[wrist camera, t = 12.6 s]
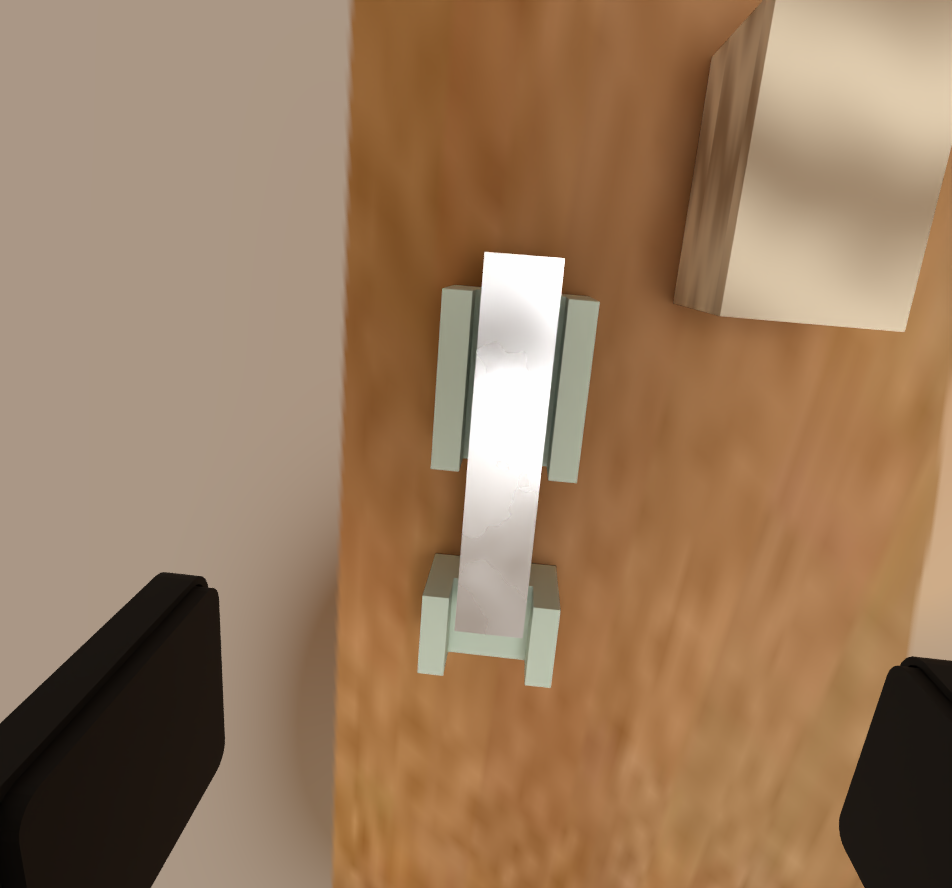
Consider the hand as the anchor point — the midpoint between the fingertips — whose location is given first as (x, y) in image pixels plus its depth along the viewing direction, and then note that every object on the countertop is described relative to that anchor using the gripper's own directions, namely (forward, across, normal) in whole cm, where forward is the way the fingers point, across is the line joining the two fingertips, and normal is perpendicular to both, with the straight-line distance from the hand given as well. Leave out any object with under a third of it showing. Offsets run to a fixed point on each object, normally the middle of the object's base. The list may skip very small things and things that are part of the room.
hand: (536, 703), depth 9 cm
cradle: (+23, +1, +5) cm, 24 cm away
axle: (+21, +1, +3) cm, 21 cm away
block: (+24, -9, -9) cm, 27 cm away
